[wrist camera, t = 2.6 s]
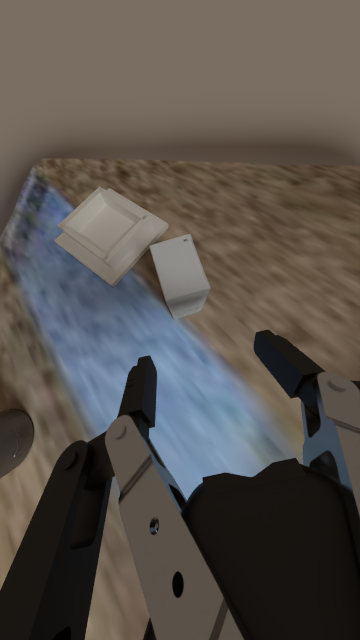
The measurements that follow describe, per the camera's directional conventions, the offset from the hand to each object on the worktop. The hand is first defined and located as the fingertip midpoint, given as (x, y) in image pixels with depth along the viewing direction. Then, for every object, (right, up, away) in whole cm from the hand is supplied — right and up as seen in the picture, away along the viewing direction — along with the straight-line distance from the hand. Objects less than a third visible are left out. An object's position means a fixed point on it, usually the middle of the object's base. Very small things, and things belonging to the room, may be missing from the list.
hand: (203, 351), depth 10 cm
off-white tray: (-17, +21, +20) cm, 34 cm away
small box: (-1, +7, +16) cm, 18 cm away
